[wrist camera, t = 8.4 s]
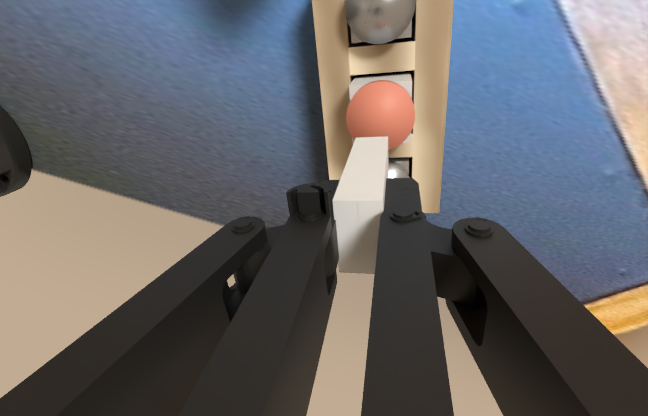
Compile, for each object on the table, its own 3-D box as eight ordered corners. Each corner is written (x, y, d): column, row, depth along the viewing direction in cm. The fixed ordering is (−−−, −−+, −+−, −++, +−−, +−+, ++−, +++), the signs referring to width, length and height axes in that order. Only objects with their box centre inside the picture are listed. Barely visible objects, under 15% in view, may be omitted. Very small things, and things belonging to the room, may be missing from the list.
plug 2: (362, 187, 36) (357, 214, 31) (360, 144, 34) (354, 165, 29) (408, 187, 35) (410, 214, 30) (409, 142, 33) (411, 163, 28)
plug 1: (355, 43, 30) (347, 47, 25) (352, -22, 28) (342, -32, 22) (411, 37, 29) (415, 40, 24) (413, -31, 26) (417, -44, 21)
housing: (340, 190, 37) (332, 212, 33) (321, -25, 28) (308, -34, 24) (433, 190, 35) (439, 212, 31) (447, -44, 26) (457, -57, 22)
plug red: (356, 130, 30) (348, 152, 25) (353, 74, 28) (343, 85, 23) (411, 128, 29) (414, 149, 24) (412, 69, 27) (416, 79, 22)
